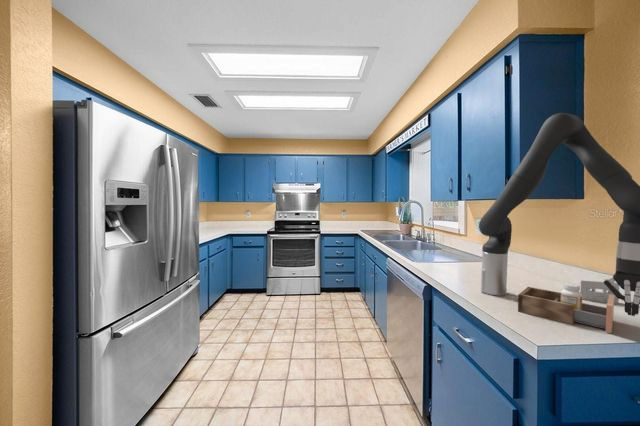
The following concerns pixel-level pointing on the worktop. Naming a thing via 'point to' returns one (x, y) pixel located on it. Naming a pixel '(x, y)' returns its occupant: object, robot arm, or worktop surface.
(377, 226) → the worktop surface
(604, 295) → the cassette
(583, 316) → the drawer
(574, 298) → the supplement bottle
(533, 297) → the caddy
